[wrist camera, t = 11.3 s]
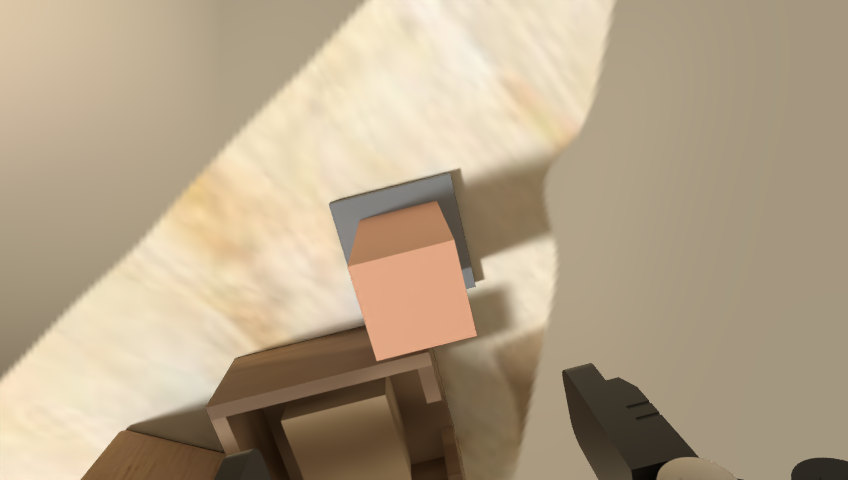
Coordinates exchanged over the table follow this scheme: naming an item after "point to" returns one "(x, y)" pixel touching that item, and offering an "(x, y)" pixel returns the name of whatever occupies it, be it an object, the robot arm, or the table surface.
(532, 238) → the table surface
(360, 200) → the pad
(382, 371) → the crate
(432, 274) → the block
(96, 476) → the wooden block
